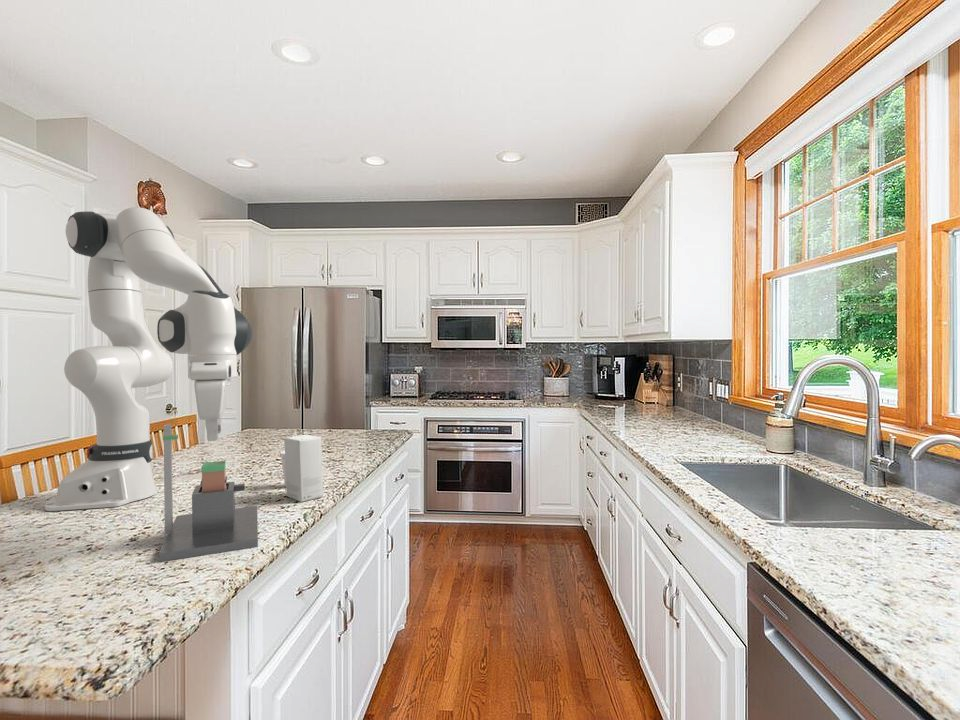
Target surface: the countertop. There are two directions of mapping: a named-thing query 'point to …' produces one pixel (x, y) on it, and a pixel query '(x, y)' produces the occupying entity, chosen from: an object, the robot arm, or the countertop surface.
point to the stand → (205, 518)
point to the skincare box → (303, 467)
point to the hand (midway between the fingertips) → (214, 436)
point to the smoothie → (283, 464)
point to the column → (214, 476)
